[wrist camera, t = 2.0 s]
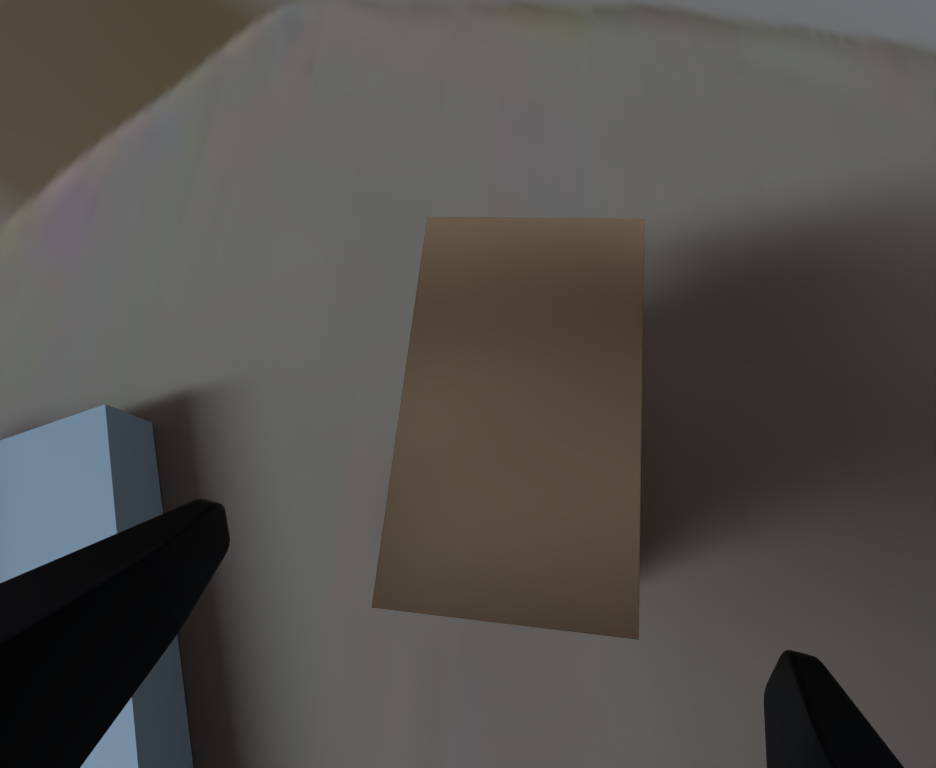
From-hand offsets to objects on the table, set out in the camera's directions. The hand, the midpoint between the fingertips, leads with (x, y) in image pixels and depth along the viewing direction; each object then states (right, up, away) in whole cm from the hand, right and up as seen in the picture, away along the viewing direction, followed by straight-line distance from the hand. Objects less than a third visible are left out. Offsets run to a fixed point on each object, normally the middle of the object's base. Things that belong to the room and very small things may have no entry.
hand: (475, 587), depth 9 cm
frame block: (+2, 0, +10) cm, 11 cm away
